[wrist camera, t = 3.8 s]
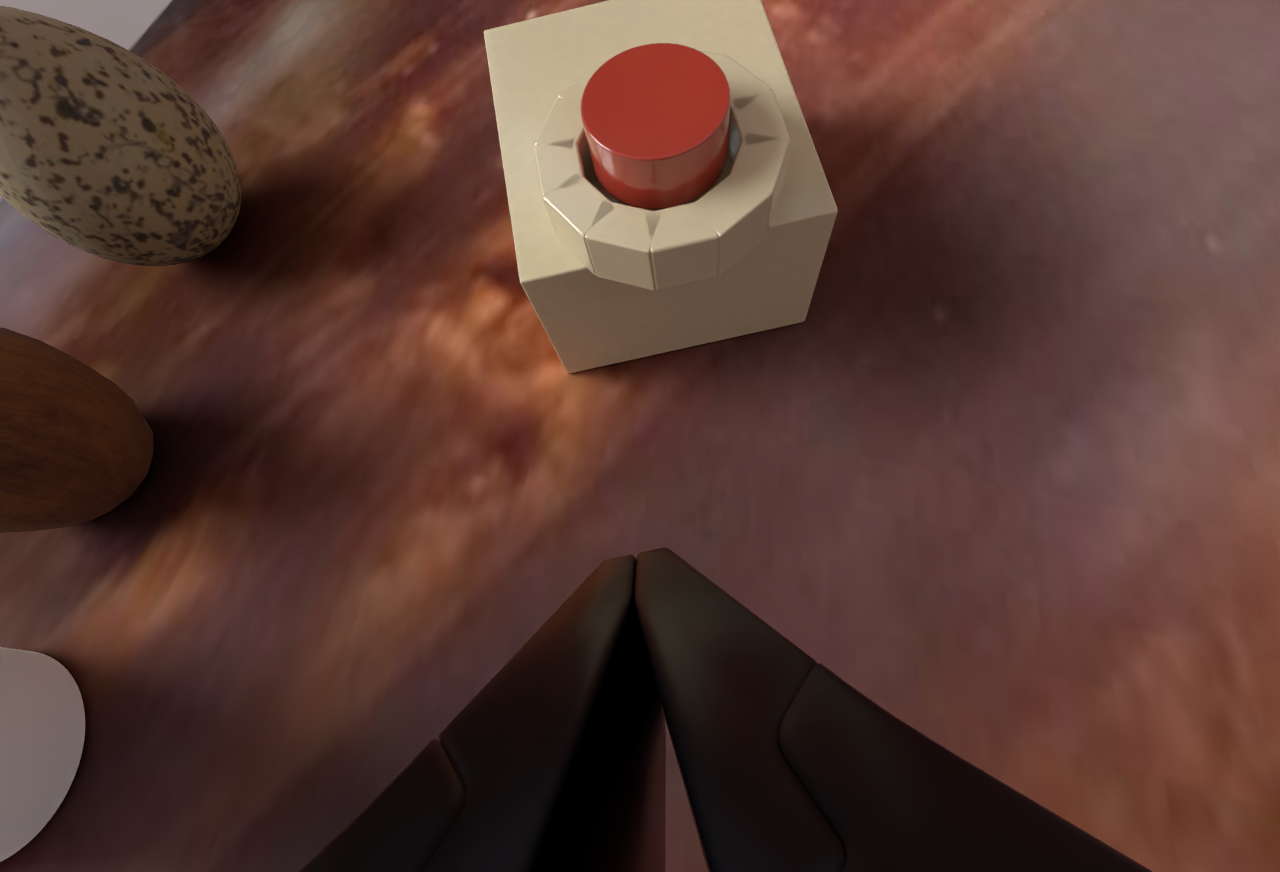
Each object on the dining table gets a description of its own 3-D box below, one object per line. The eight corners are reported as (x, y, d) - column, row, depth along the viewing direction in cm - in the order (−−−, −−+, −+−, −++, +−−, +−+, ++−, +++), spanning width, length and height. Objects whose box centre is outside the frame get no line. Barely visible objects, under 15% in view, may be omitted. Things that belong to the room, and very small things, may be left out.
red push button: (743, 191, 16) (747, 138, 14) (604, 223, 16) (592, 174, 14) (711, 87, 17) (711, 27, 15) (583, 118, 17) (569, 61, 15)
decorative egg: (289, 275, 26) (48, 64, 16) (126, 324, 26) (-205, 141, 16) (278, 147, 28) (62, -101, 19) (129, 192, 28) (-159, -33, 19)
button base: (814, 352, 22) (870, 202, 15) (572, 405, 23) (504, 285, 15) (739, 117, 26) (752, -98, 18) (532, 165, 26) (462, -26, 19)
